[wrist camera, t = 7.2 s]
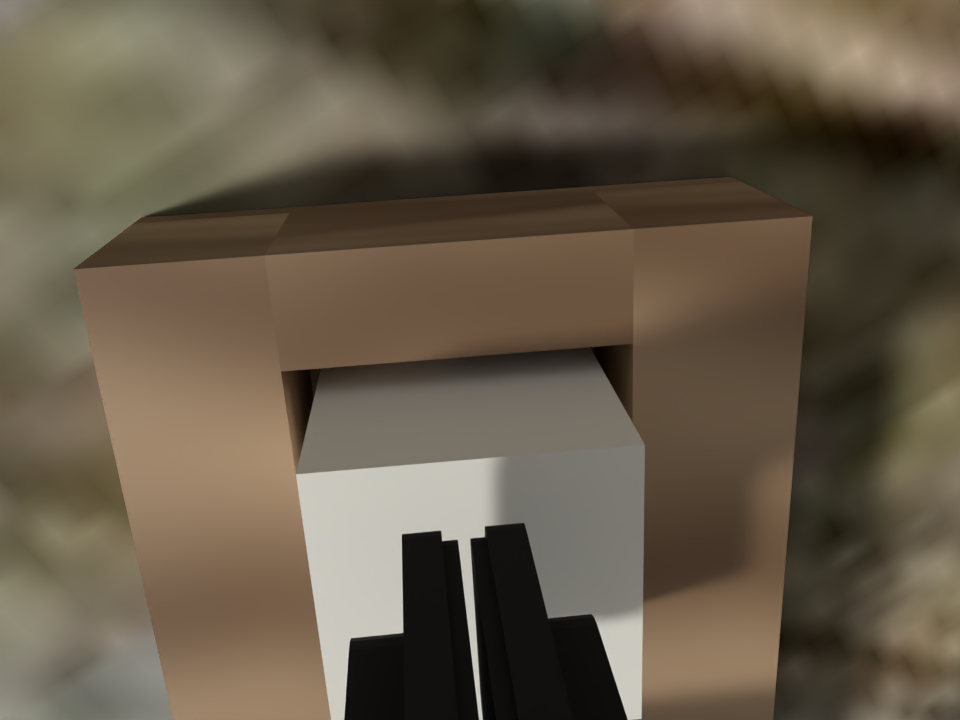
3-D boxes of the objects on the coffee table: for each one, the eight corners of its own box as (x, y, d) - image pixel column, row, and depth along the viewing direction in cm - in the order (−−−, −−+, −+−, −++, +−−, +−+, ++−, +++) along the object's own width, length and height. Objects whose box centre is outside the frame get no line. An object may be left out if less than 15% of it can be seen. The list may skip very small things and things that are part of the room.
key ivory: (324, 355, 17) (296, 474, 13) (583, 335, 17) (645, 444, 13) (351, 577, 19) (335, 749, 15) (586, 556, 19) (641, 718, 15)
